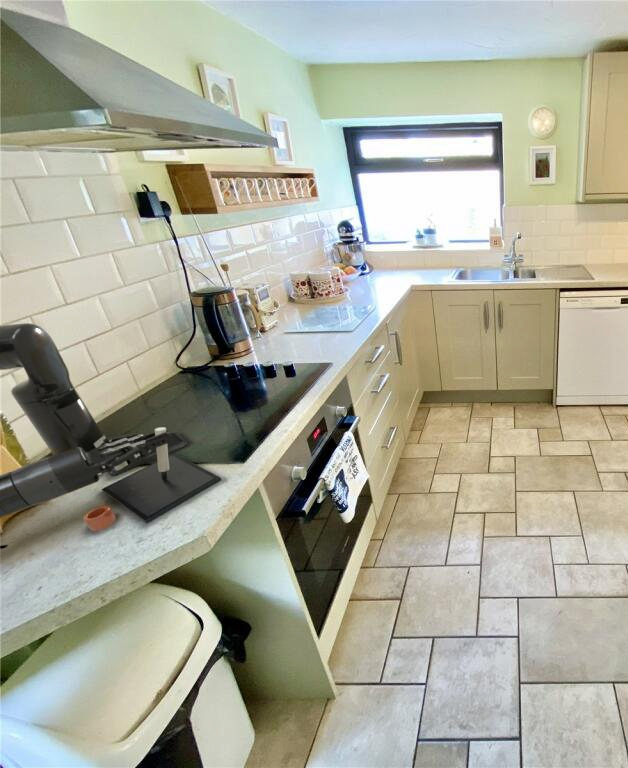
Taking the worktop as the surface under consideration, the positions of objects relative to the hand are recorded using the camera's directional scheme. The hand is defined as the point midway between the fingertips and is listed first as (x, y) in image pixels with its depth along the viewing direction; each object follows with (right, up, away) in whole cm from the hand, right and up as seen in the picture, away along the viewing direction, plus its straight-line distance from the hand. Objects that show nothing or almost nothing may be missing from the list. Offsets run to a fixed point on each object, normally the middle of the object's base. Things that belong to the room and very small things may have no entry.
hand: (168, 434), depth 88 cm
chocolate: (-21, -10, +7) cm, 25 cm away
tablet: (-2, -11, +2) cm, 12 cm away
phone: (-15, -7, +12) cm, 21 cm away
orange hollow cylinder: (-6, -16, -8) cm, 19 cm away
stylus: (-2, -10, +2) cm, 11 cm away
